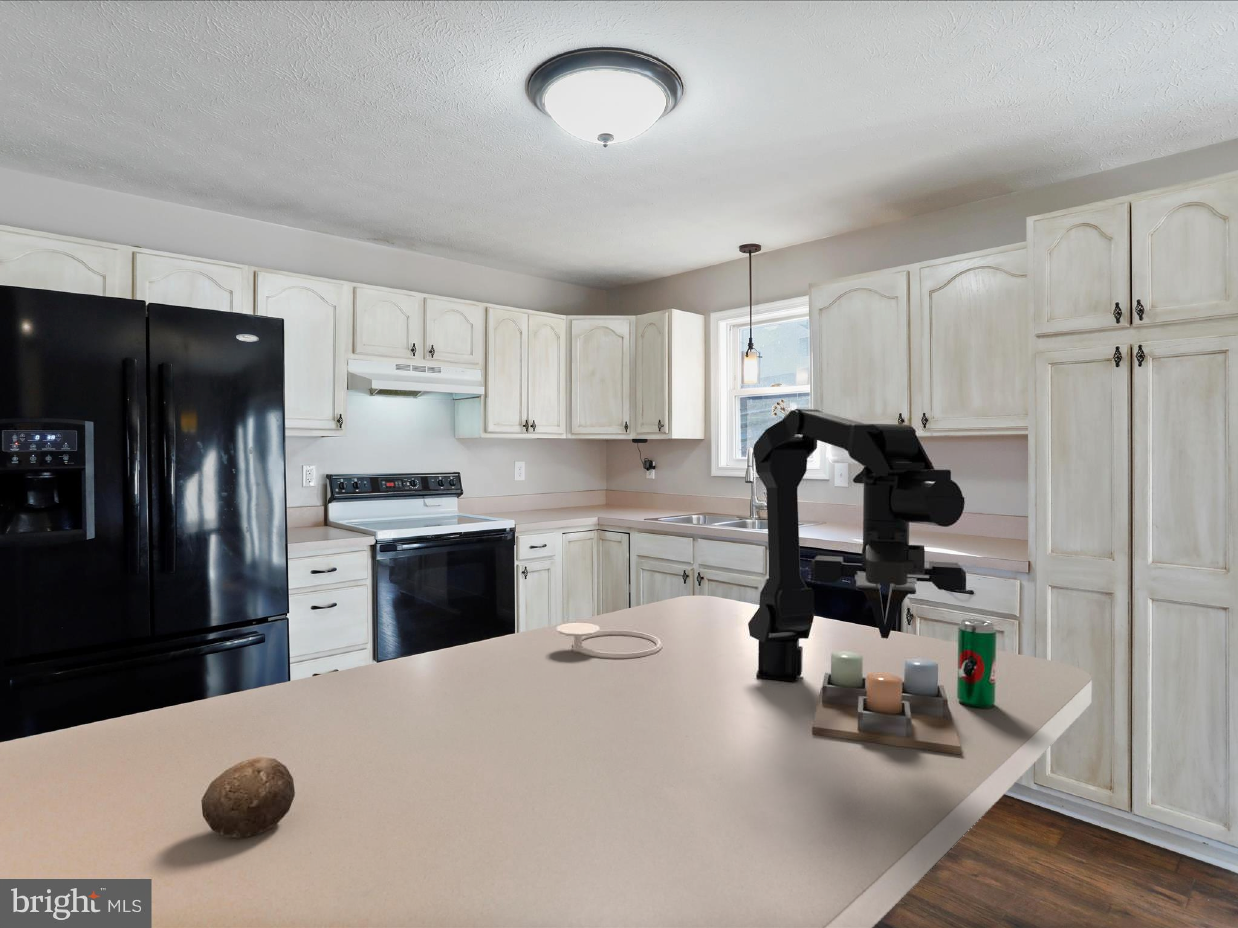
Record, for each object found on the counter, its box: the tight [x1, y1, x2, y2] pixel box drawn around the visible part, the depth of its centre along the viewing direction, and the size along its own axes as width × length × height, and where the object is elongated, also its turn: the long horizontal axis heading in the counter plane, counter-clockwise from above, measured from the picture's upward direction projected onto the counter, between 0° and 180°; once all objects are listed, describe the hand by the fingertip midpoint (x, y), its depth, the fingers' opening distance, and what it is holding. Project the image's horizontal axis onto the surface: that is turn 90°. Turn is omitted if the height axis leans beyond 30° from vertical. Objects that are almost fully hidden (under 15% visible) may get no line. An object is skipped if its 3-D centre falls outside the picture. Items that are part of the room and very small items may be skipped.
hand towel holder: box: [556, 622, 663, 660], centre depth 134 cm, size 17×4×20 cm
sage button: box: [830, 650, 864, 688], centre depth 104 cm, size 4×4×4 cm
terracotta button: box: [866, 672, 903, 714], centre depth 94 cm, size 4×4×4 cm
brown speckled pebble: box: [200, 756, 296, 839], centre depth 70 cm, size 8×8×6 cm
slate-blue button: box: [903, 657, 939, 696], centre depth 101 cm, size 4×4×4 cm
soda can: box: [956, 618, 997, 709], centre depth 105 cm, size 5×5×12 cm
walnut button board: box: [811, 672, 962, 755], centre depth 98 cm, size 18×16×3 cm
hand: (884, 637), depth 94 cm, fingers closed
